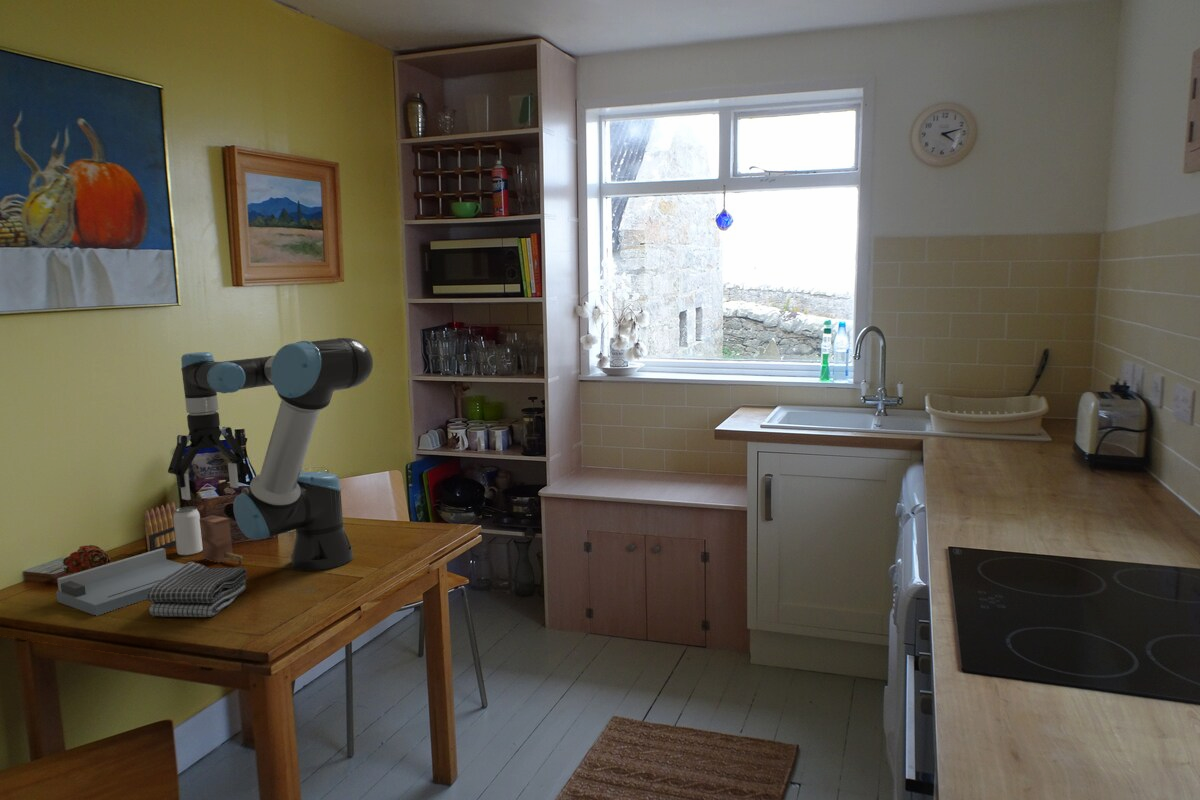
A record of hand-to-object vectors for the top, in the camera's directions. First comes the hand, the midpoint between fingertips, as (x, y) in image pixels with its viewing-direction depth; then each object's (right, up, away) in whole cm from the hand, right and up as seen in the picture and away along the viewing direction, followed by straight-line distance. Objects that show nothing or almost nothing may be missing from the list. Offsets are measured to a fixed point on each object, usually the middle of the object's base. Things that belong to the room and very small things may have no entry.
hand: (211, 493), depth 226 cm
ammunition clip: (-20, -17, +15) cm, 30 cm away
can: (-10, -17, +10) cm, 22 cm away
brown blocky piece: (+4, -18, +1) cm, 18 cm away
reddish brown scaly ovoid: (-28, -20, -7) cm, 35 cm away
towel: (+11, -22, -29) cm, 39 cm away
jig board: (-10, -21, -19) cm, 30 cm away
